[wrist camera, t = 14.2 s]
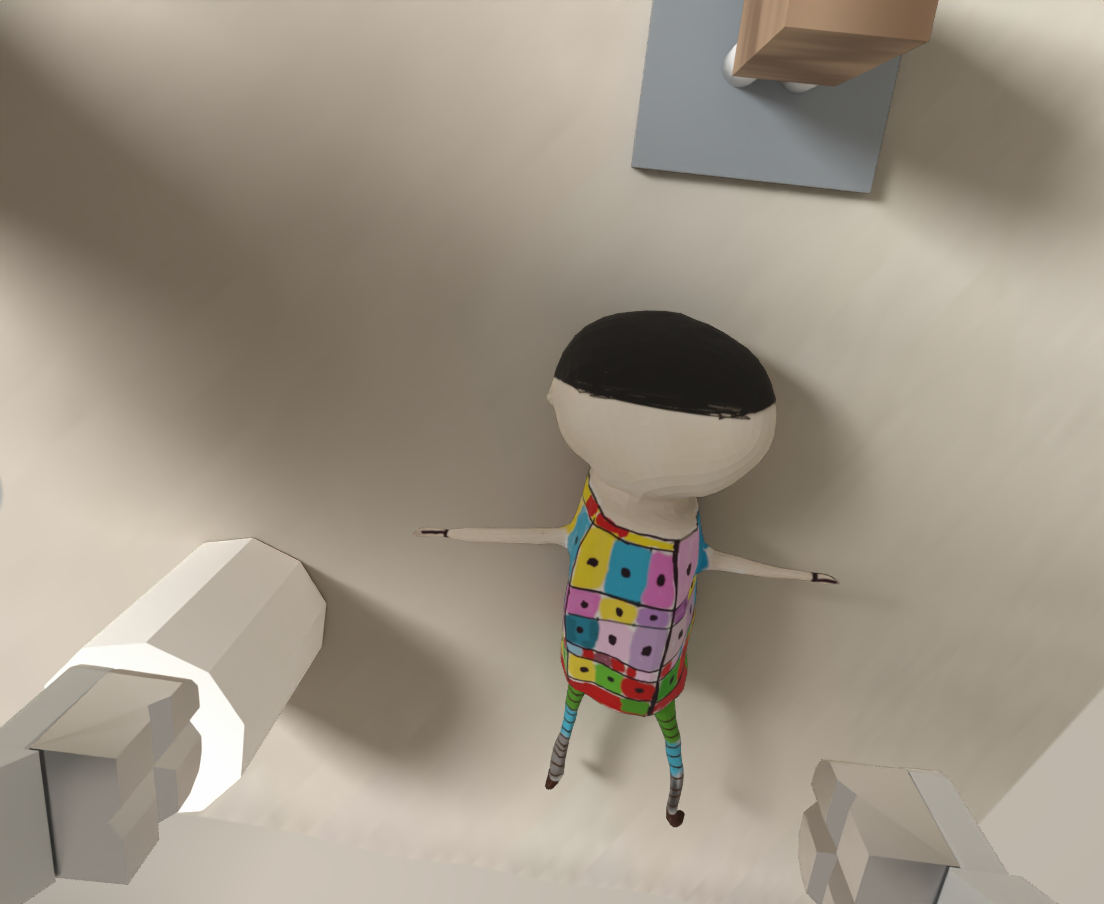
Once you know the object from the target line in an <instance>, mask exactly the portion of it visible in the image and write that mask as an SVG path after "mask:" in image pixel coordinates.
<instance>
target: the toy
mask: <svg viewBox="0 0 1104 904" xmlns="http://www.w3.org/2000/svg"><path fill="white" fill-rule="evenodd" d="M546 398H547V400H548V401H549V402H550V403H551V404H552V405H553V406H554V408H555V413H556V418H557V422H558V425H559V429H560V432H561V435H562V436H563V438H564V439H565V441H566V443H567V444H568V446H569V447H570V448H571V449H572V450H573V451H574V452H575V453H576V454H577V455H579V456H580V457H581V458H582V459H583V460H585V461H586V462H587V463H588V464H589V465H590V466H591V468H590V470H589V472H588V475H587V478H586V482H585V486H584V490H583V494H582V497H581V501H580V504H579V507H578V510H577V512H576V514H575V516H574V518H573V521H572V523H570V524H568V525H566V526H563V527H561V528H477V527H471V528H460V529H451V530H447V529H437V528H429V527H425V528H419V529H418V530H417V531H416V532H415V533H414V534H413V535H416V536H443V537H449V538H453V539H458V540H462V541H470V542H501V543H528V544H547V543H553V544H559V545H561V546H563V547H565V548H567V550H568V552H569V554H570V569H569V579H568V584H567V589H566V594H565V600H564V610H563V626H562V642H561V663H562V666H563V669H564V673H565V676H566V679H567V681H568V683H569V684H568V691H567V697H566V702H565V713H564V720H563V723H562V727H561V731H560V733H559V735H558V737H557V739H556V741H555V745H554V748H553V752H552V756H551V762H550V769H549V772H548V777H547V780H546V784H545V787H546V789H548V790H549V789H553V788H554V787H555V786H556V785H557V784H558V782H559V781H560V779H561V778H562V776H563V774H564V767H565V758H566V754H567V749H568V744H569V739H570V736H571V732H572V729H573V726H574V723H575V720H576V716H577V710H578V707H579V705H580V702H581V700H582V697H583V696H584V694H586V695H588V696H590V697H592V698H593V699H594V700H596V701H597V702H598V703H600V704H602V705H604V706H605V707H607V708H609V709H611V710H614V711H617V712H620V713H624V714H631V715H638V716H643V717H646V716H650V715H655V717H656V719H657V721H658V723H659V725H660V727H661V730H662V732H663V735H664V737H665V743H666V753H667V758H668V762H669V766H670V780H671V783H670V793H669V798H668V803H667V807H666V818H667V820H668V822H669V823H670V825H671V826H673V827H678V826H680V825H681V824H682V822H683V819H684V815H685V814H684V812H683V811H681V810H678V811H677V807H678V803H679V799H680V795H681V791H682V786H683V776H684V774H683V764H682V758H681V739H680V733H679V730H678V726H677V721H676V711H675V698H677V697H678V696H679V695H680V693H681V692H682V691H683V689H684V685H685V681H686V676H687V654H686V649H687V645H688V640H689V636H690V632H691V629H692V625H693V622H694V616H695V603H696V585H697V573H699V572H701V571H705V570H721V571H727V572H734V573H740V574H746V575H753V576H761V577H769V578H784V579H797V580H806V581H812V582H818V583H823V584H829V585H836V584H839V582H838V581H837V580H836V579H835V578H833V577H831V576H829V575H827V574H821V573H812V572H805V571H798V570H792V569H785V568H778V567H774V566H770V565H766V564H762V563H758V562H755V561H751V560H748V559H745V558H741V557H738V556H735V555H731V554H727V553H723V552H719V551H716V550H713V549H712V548H711V547H710V546H708V545H707V544H706V543H705V542H704V538H703V535H702V530H701V525H700V511H699V505H698V500H697V497H703V496H707V495H710V494H713V493H716V492H719V491H721V490H722V489H724V488H726V487H728V486H730V485H732V484H733V483H734V482H736V481H737V480H739V479H740V478H741V477H743V476H744V475H745V474H746V473H748V472H749V471H750V470H751V469H752V468H753V467H754V466H756V465H757V464H758V463H759V462H760V461H761V460H762V458H763V457H764V456H765V454H766V453H767V452H768V450H769V448H770V445H771V443H772V441H773V438H774V433H775V427H776V413H777V411H776V398H775V395H774V391H773V388H772V384H771V382H770V379H769V377H768V375H767V373H766V371H765V369H764V368H763V366H762V365H761V363H760V362H759V360H758V359H757V358H756V357H755V356H754V355H753V354H752V353H751V352H750V351H749V350H748V349H747V348H746V347H744V346H743V345H742V344H740V343H739V342H737V341H736V340H734V339H733V338H731V337H730V336H728V335H727V334H725V333H724V332H722V331H720V330H718V329H716V328H714V327H712V326H711V325H709V324H706V323H703V322H700V321H698V320H695V319H693V318H691V317H688V316H686V315H684V314H681V313H675V312H668V311H635V312H626V313H618V314H614V315H610V316H606V317H603V318H601V319H599V320H597V321H595V322H593V323H591V324H589V325H587V326H586V327H584V328H583V329H582V330H581V331H580V332H579V333H578V334H577V335H575V336H574V338H573V339H572V341H571V342H570V343H569V345H568V346H567V348H566V349H565V350H564V352H563V354H562V356H561V358H560V361H559V363H558V365H557V368H556V371H555V375H554V378H553V381H552V384H551V388H550V391H549V393H548V395H547V396H546Z"/></svg>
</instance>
